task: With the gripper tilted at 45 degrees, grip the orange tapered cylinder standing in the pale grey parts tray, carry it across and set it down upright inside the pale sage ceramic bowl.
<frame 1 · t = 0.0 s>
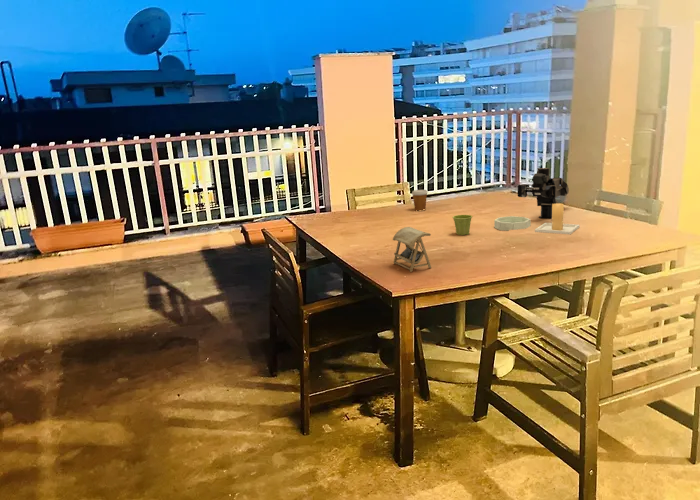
hand: (531, 193, 262), 17 cm above the table, tool horizontal, fingers open, 9 cm apart
disposable coffee cup: (420, 210, 331), on the table
sage bowl: (512, 227, 268), on the table
swing bench: (412, 266, 214), on the table
parts tray: (557, 231, 255), on the table
plant pot: (462, 234, 262), on the table
orange tapered cylinder: (557, 229, 255), point 1 cm above the table, touching parts tray
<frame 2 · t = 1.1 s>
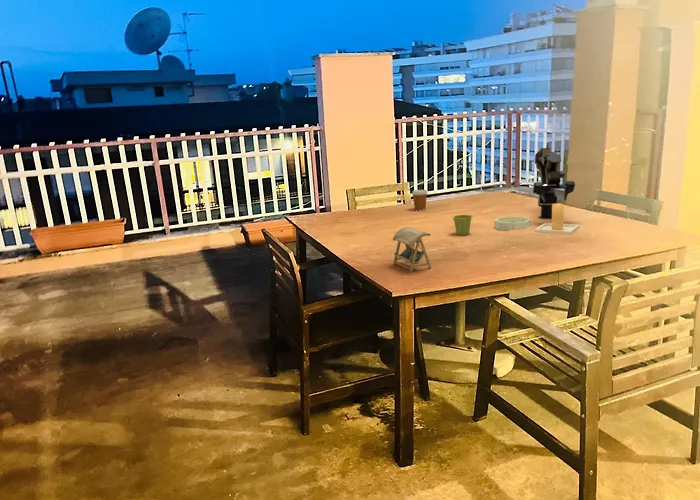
hand: (555, 201, 259), 13 cm above the table, tool tilted 45°, fingers open, 9 cm apart
nothing on the table moved.
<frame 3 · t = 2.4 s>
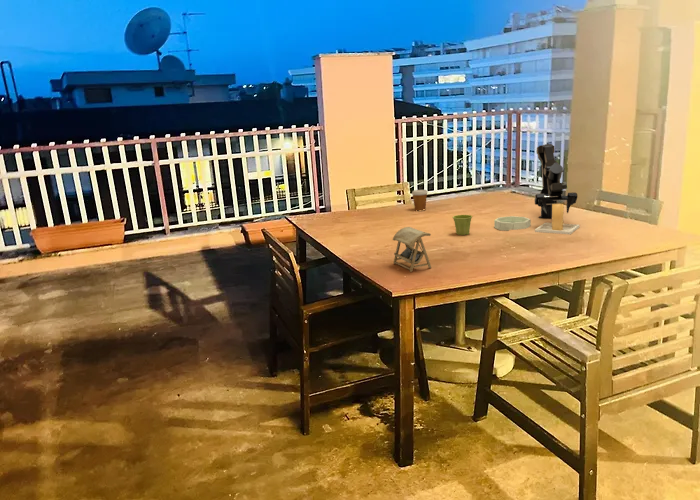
hand: (557, 213, 253), 8 cm above the table, tool tilted 45°, fingers open, 9 cm apart
nothing on the table moved.
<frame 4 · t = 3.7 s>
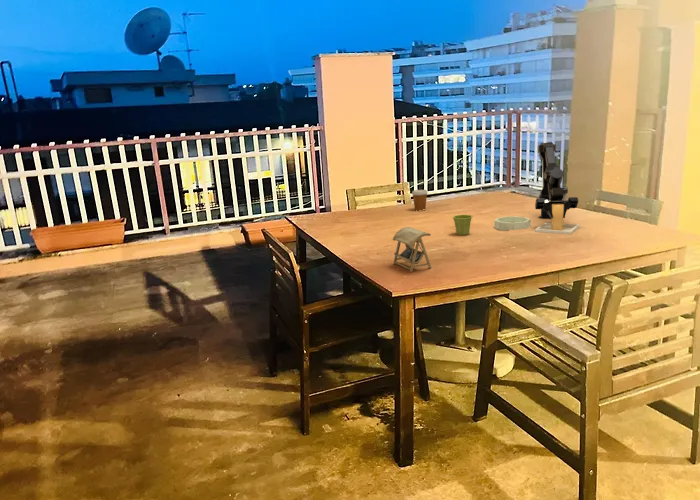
hand: (558, 218, 252), 7 cm above the table, tool tilted 45°, fingers closed on orange tapered cylinder, 5 cm apart
orange tapered cylinder: (557, 229, 255), point 1 cm above the table, touching gripper, parts tray
everything else where it was.
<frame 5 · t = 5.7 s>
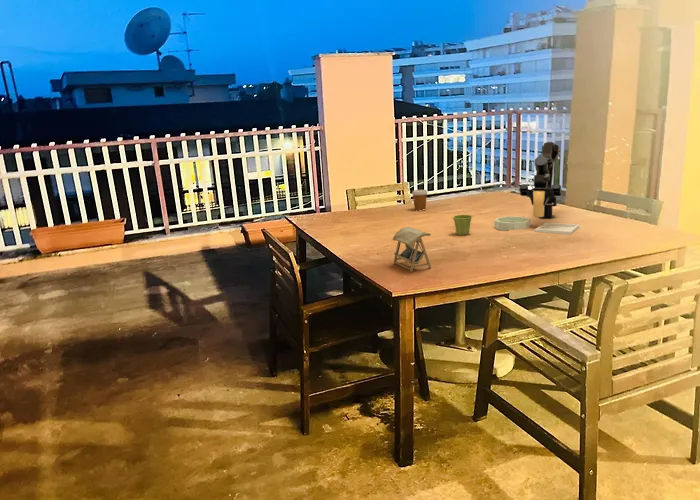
hand: (538, 204, 256), 12 cm above the table, tool tilted 45°, fingers closed on orange tapered cylinder, 5 cm apart
orange tapered cylinder: (538, 216, 259), point 7 cm above the table, touching gripper
everything else where it was.
when the fingers open (8 cm above the table, at t = 7.8 s): orange tapered cylinder drops 1 cm, resting on sage bowl.
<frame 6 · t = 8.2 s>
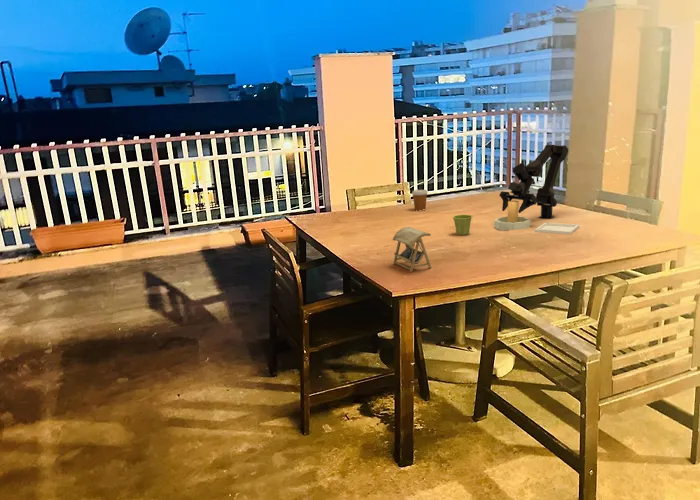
hand: (510, 211, 266), 8 cm above the table, tool tilted 45°, fingers open, 9 cm apart
orange tapered cylinder: (512, 225, 268), point 1 cm above the table, touching sage bowl
everything else where it was.
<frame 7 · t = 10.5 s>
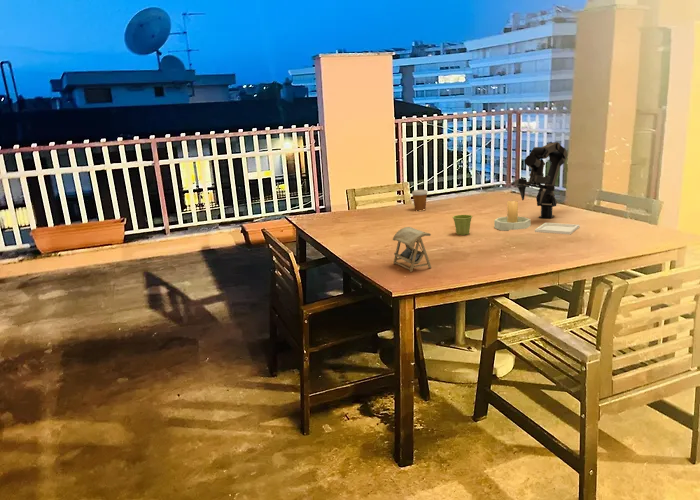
hand: (531, 202, 269), 12 cm above the table, tool tilted 25°, fingers open, 9 cm apart
nothing on the table moved.
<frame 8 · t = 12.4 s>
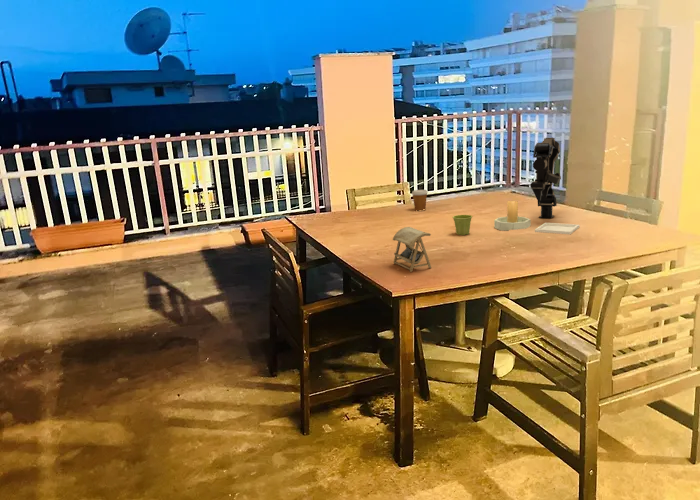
hand: (542, 199, 270), 12 cm above the table, tool pointing down, fingers open, 9 cm apart
nothing on the table moved.
at the end: orange tapered cylinder inside the target area on the sage bowl (0.1 cm from its centre), point 1.0 cm above the sage bowl's base; orange tapered cylinder tilted 0°; the gripper is holding nothing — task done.
